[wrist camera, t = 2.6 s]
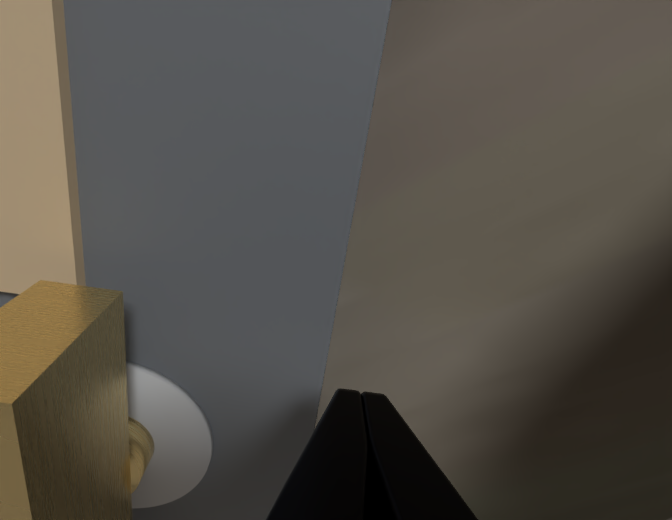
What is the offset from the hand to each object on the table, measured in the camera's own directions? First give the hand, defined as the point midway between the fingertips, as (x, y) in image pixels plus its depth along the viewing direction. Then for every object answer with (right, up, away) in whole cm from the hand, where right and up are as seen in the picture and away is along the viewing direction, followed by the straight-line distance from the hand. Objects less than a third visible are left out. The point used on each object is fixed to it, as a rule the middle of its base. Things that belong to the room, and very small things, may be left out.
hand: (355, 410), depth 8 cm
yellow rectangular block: (-5, -1, +3) cm, 6 cm away
